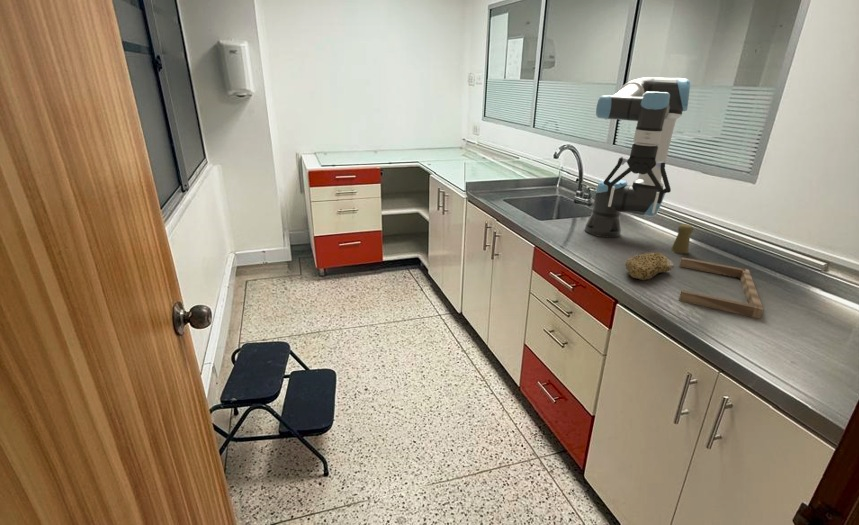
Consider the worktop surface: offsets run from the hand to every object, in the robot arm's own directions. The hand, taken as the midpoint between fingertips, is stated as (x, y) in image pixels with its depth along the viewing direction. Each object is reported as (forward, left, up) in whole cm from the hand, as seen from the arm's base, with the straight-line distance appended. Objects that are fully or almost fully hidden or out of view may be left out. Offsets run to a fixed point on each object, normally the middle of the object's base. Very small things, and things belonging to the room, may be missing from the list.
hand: (631, 209), depth 147 cm
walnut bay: (-3, +30, -23) cm, 38 cm away
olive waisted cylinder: (-37, +20, -23) cm, 48 cm away
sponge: (-3, +9, -23) cm, 25 cm away
